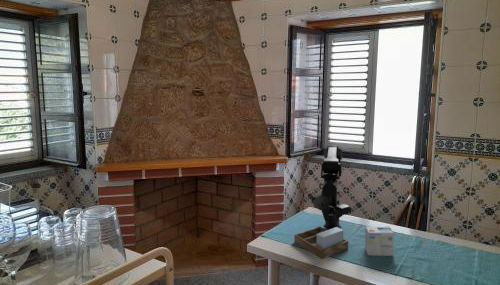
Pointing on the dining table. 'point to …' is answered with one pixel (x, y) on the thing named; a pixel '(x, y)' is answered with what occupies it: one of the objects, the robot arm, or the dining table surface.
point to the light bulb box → (379, 241)
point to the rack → (310, 243)
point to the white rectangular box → (329, 238)
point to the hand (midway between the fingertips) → (330, 223)
